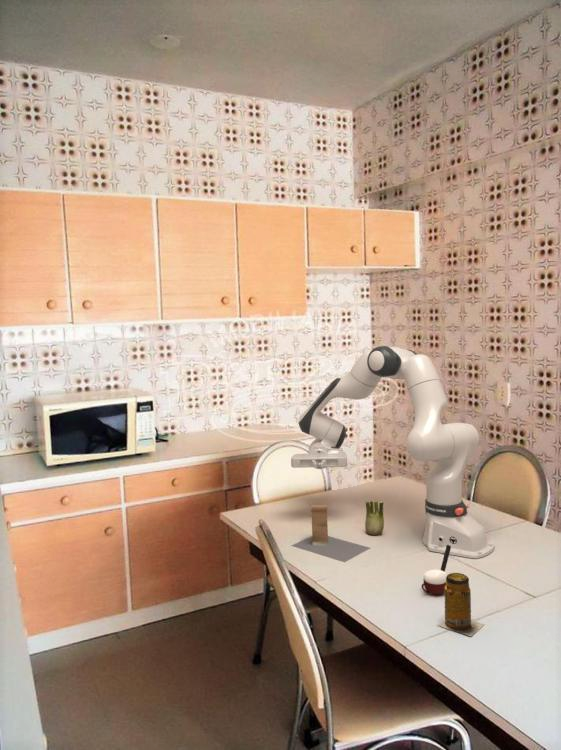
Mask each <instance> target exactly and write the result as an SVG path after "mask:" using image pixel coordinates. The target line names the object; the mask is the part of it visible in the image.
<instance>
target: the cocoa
mask: <svg viewBox="0 0 561 750" xmlns="http://www.w3.org/2000/svg"><path fill="white" fill-rule="evenodd" d="M450 549H451V546H449V545H447V546H446V550H445V553H443V554H444V555H443V558H442V562H441V566H440V569H430V570H427V571H425V572H424V574H423V583H422V584H421V589H422V591H423V592H425V593H427V594H430V595H431V596H432V595H433V596H440V595H443V594H445V586H446V577H447V575H448V573H447V572H446V569H447V564H448V560H449V556H450V554H449V553H450Z"/></svg>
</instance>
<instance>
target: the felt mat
mask: <svg viewBox="0 0 561 750" xmlns="http://www.w3.org/2000/svg"><path fill="white" fill-rule="evenodd" d="M291 547H294V548H297V549H300V550H304V551H306V552H310V553H314V554H317V555H320V556H322V557H326V558H330V559H332V560H336V561H339V562H343V563H346V562H348V561H349V560H352V559H353V558H355V557H357V556H358V555H360V554H362V553H365V552H366V551H368V550H369V549H371V547H369V546H365V545H362V544H359V543H354V542H350V541H347V540H344V539H340V538H338V537H337V538H336V537H334V536H333V537H332V536H329V535H328V545H313V540H312V535H310V536H309V537H307V538H304V539H303V540H300V541H298V542H296V543H293V544H291Z"/></svg>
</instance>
